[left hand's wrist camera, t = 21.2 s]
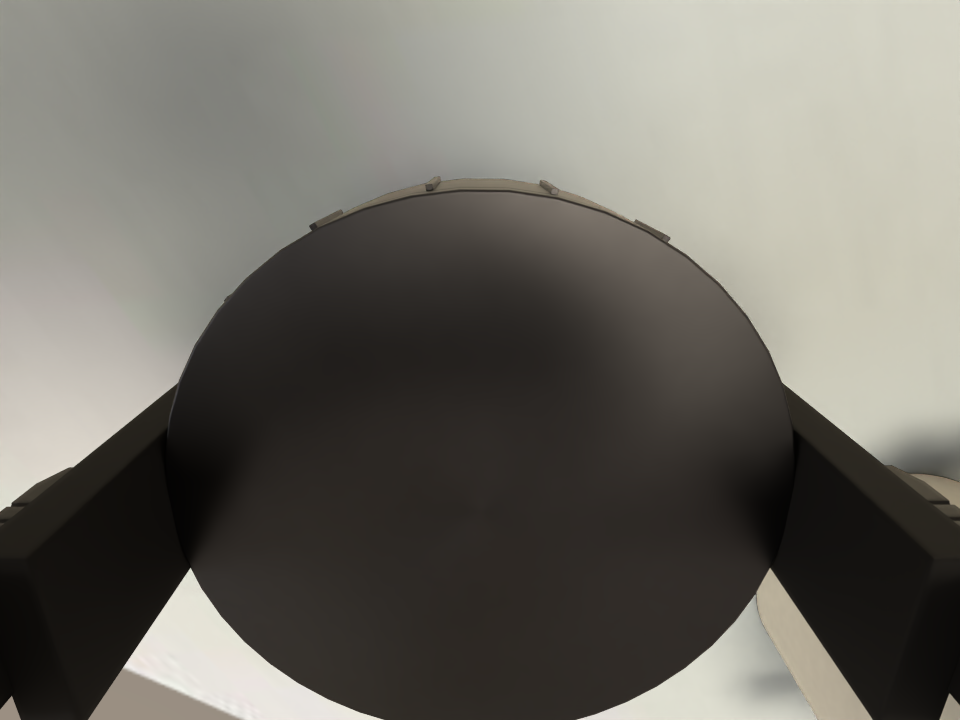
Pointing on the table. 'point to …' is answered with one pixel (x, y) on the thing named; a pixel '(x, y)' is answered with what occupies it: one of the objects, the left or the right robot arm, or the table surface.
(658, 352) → the lid
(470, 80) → the table surface
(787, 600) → the jar
